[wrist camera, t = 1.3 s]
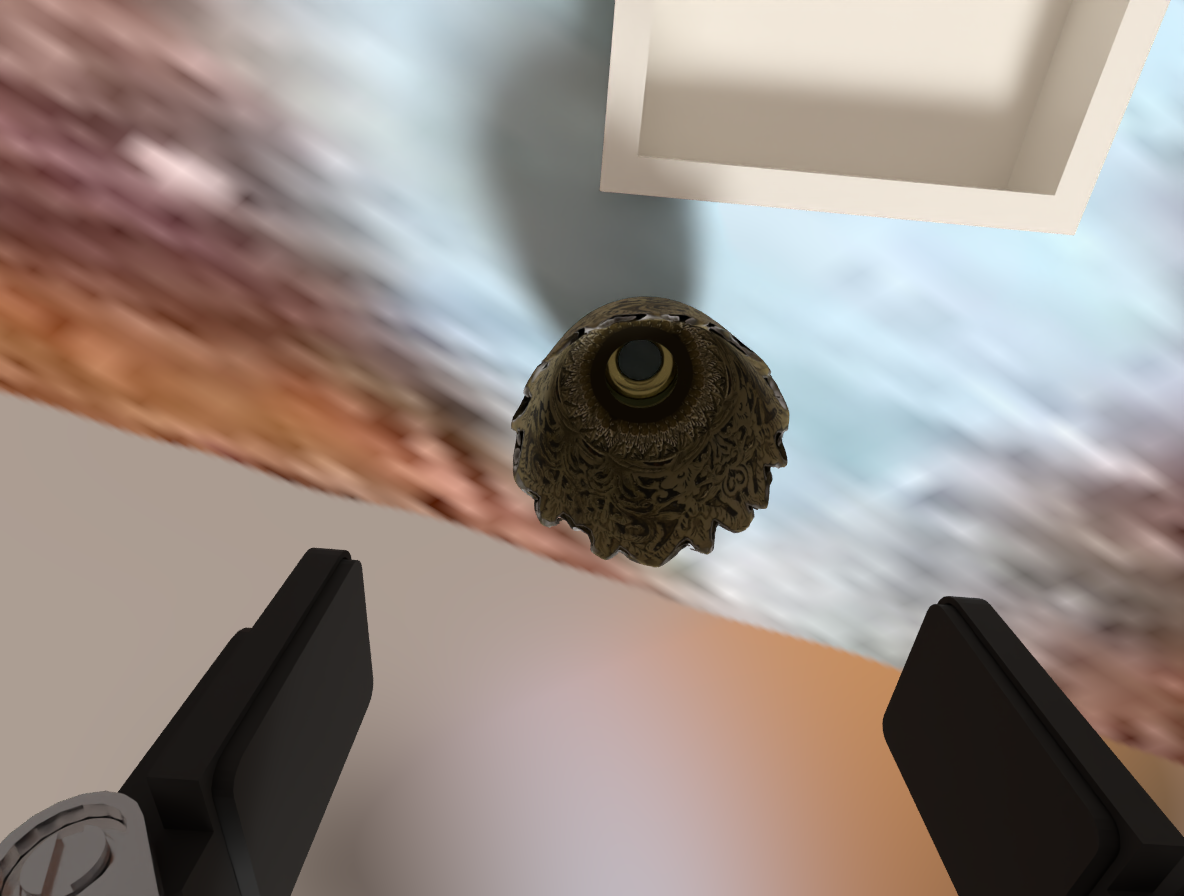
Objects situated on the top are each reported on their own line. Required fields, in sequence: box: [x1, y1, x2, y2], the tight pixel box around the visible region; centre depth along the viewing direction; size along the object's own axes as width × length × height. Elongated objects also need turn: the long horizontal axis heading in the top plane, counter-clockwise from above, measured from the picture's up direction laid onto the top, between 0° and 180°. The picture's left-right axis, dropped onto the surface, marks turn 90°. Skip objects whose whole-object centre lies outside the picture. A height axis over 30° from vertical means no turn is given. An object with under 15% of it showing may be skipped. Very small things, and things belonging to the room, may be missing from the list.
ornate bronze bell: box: [511, 297, 789, 567], centre depth 20 cm, size 8×7×8 cm
